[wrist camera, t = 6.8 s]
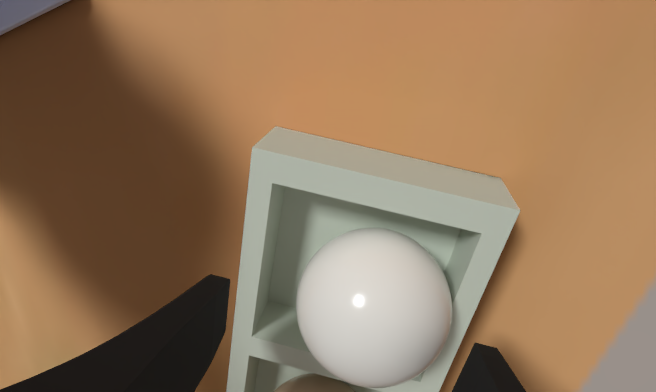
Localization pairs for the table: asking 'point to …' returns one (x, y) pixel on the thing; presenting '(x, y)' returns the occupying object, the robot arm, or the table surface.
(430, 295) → the white egg
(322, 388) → the brown egg
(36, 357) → the table surface
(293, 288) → the carton
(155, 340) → the robot arm
